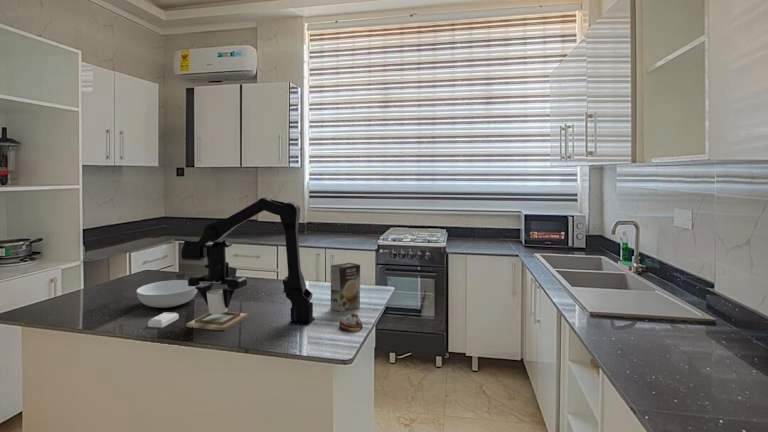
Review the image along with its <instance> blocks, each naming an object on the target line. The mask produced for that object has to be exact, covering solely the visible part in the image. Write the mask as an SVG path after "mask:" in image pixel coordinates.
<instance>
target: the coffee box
mask: <svg viewBox="0 0 768 432" xmlns="http://www.w3.org/2000/svg"><path fill="white" fill-rule="evenodd" d="M360 306H361V264H359V263H354V262H353V263H352V262H345V263H339V264H337V263H336V264H331V265H330V309H332V310H334V311H337V312H342V313H343V312H345V311H349V310H354V309H357V308H360Z"/></svg>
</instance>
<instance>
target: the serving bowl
mask: <svg viewBox="0 0 768 432" xmlns="http://www.w3.org/2000/svg"><path fill="white" fill-rule="evenodd" d="M195 287H196V286H188V279H176V280H173V279H172V280H163V281H156V282H152V283H149V284H144V285H142V286H140V287H138V288H137V289H136V291H135V293H136V296H137V299H138V300H139V301H140V303H142V304H143V305H145V306H147V307H150V308H151V307H152V308H161V309H169V308H174V307H178V306H180V305H183V304H186V303H188V302H190V301H191V300H192V299H194V298H195V296H196V295H197V293H198V290H197V289H195Z"/></svg>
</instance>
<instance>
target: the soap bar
mask: <svg viewBox="0 0 768 432" xmlns="http://www.w3.org/2000/svg"><path fill="white" fill-rule="evenodd" d="M179 316H180V315H179V313H177V312H171V311H170V312H169V311H166V312H165V311H164V312H163V313H160V314H159V315H156V316H155V317H152V318H151V319H149V321H147V328H164V327H166V326H168V325H169V324H171V323H173V322H174V321H177V320H178V319H179V318H180V317H179Z"/></svg>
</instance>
